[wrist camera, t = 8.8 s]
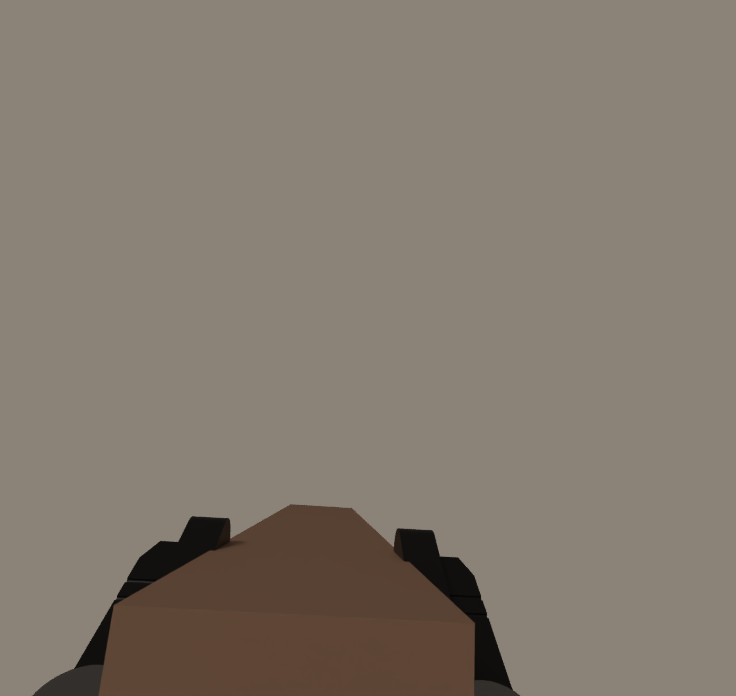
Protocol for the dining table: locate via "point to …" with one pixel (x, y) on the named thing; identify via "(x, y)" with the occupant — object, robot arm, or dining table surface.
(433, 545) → the robot arm
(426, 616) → the block
